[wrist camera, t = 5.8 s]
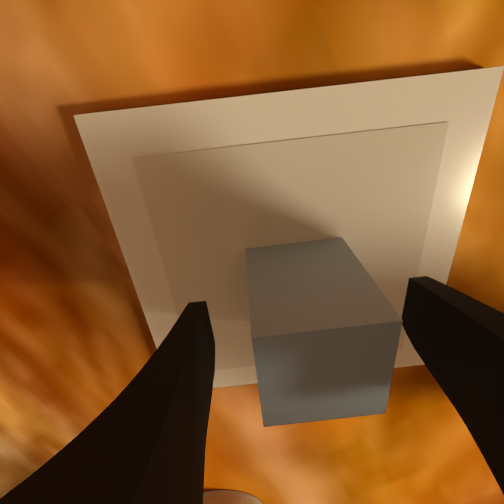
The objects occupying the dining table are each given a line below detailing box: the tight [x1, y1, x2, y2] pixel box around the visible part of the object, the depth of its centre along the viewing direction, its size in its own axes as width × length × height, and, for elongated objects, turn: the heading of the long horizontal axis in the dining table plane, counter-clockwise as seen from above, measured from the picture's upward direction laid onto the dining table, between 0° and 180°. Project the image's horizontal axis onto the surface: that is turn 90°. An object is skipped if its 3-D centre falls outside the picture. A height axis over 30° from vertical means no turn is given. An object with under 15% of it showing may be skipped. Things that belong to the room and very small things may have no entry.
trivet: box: [73, 66, 504, 388], centre depth 13 cm, size 14×14×1 cm
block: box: [245, 238, 403, 427], centre depth 11 cm, size 4×4×5 cm
